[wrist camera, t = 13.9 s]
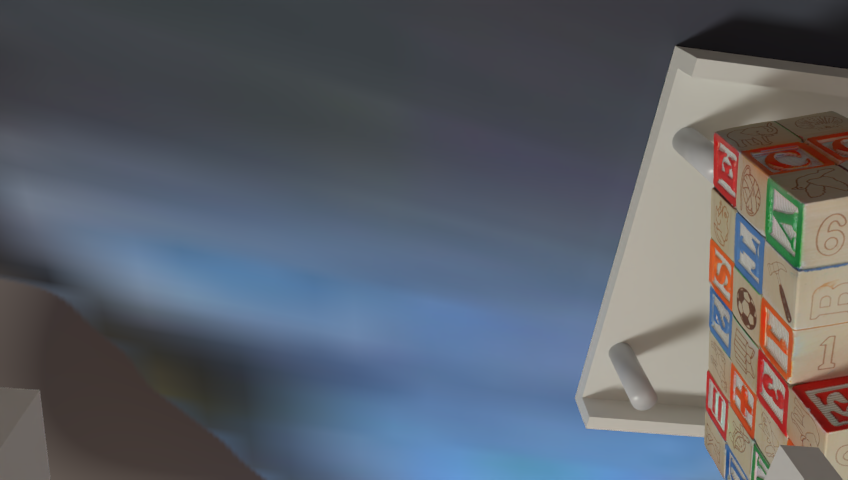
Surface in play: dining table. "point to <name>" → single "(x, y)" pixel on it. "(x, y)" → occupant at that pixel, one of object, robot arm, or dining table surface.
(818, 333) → the stack of blocks
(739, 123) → the rack with pegs
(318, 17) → the dining table surface
